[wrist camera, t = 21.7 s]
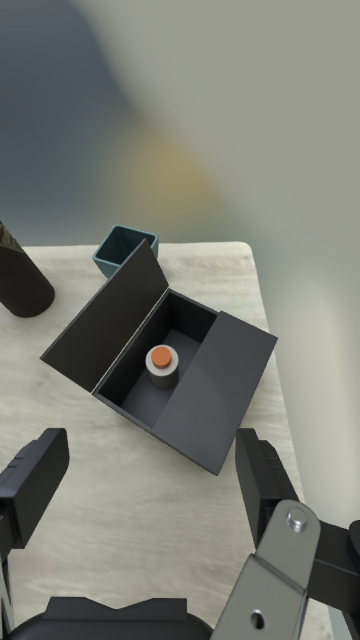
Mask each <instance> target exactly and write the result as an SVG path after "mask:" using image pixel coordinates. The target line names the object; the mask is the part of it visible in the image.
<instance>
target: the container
mask: <svg viewBox="0 0 360 640" xmlns="http://www.w3.org/2000/svg"><path fill="white" fill-rule="evenodd" d="M53 298H54V289H53V287H52V285H51V284H50V283H49V281H48V280H47V279H46V278H45V276H44V275H43V274H42V273H41V271H40V270H39V269H38V268H37V266H36V265H35V264H34V263H33V261H32V260H31V259H30V258H29V256H28V255H27V254H26V253H25V251H24V250H23V249H22V248H21V246H20V245H19V244H18V243H17V242H16V240H15V239H14V238H13V237H12V235H11V234H10V233H9V231H8V230H7V229H6V228H5V227H4V225H3V224H2V223H1V221H0V302H1V303H2V304H3V305H4V306H5V307H6V308H7V309H8V310H9V311H11V312H12V313H13V314H14V315H16V316H19V317H32V316H35V315H38V314H40V313H41V312H43V311H44V310H45V309H47V308H48V307H49V305H50V304H51V303H52V301H53Z"/></svg>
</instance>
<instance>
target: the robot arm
mask: <svg viewBox="0 0 360 640" xmlns="http://www.w3.org/2000/svg"><path fill="white" fill-rule="evenodd" d="M69 459H70V456H69V448H68V440H67V433H66V430H65V428H47V429H46V430H45V431H44V432H43V434H42V435H41V436H40V437H39V439H38V440H33V441H31V442H30V443H29V444H27V445H26V446H25V447H23V448H22V449H21V450H20V451H19V453H18V454H17V455H16V456H15V457H14V460H12V461H11V462H10V463H9V465H8V466H7V468H5V469H4V471H3V472H2V473H1V474H0V640H300V637H301V632H302V628H303V623H304V619H305V615H306V610H307V606H308V602H309V598H312V599H314V600H317V601H319V602H322V603H324V604H326V605H329V606H331V607H334V608H336V609H339V610H341V611H342V614H343V616H344V619H345V621H346V624H347V626H348V629H349V631H350V634H351V636H352V639H353V640H360V520H357V521H354V522H352V524H350V527H349V530H347V529H344V528H341V527H338V526H335V525H331V524H328V523H325V522H323V521H321V520H319V519H318V518H317V516H316V515H315V513H314V512H313V511H312V510H311V509H310V508H309V507H307V506H306V505H304V504H303V503H301V502H300V501H299V499H298V496H297V494H296V492H295V490H294V488H293V486H292V484H291V482H290V479H289V477H288V475H287V473H286V471H285V469H284V467H283V465H282V462H281V460H280V458H279V456H278V454H277V452H276V450H275V448H274V447H273V446H272V445H271V444H270V443H269V442H268V441H267V440H258V437H257V435H256V432H255V430H254V429H253V428H237V432H236V450H235V463H236V471H237V475H238V479H239V483H240V487H241V491H242V495H243V500H244V504H245V508H246V512H247V516H248V520H249V524H250V528H251V532H252V536H253V541H254V545H255V549H256V552H255V554H254V555H253V554H252V553H251V554H250V555H249V556H248V558H247V560H246V562H245V564H244V566H243V568H242V571H241V573H240V575H239V577H238V579H237V581H236V583H235V586H234V588H233V590H232V592H231V594H230V596H229V599H228V601H227V603H226V605H225V607H224V609H223V612H222V614H221V616H220V618H219V620H218V622H217V624H216V627H215V629H214V630H213V629H212V628H211V627H210V626H209V625H208V624H207V623H205V622H204V621H203V620H201V619H200V618H198V617H196V616H195V615H192V614H190V613H187V599H186V598H152V599H149V600H146V601H142V602H139V603H136V604H133V605H130V606H127V607H124V608H121V609H113V608H110V607H108V606H105V605H103V604H100V603H98V602H95V601H93V600H90V599H88V598H85V597H51V598H50V601H49V603H48V606H47V608H46V611H45V612H43V613H40V614H38V615H36V616H34V617H32V618H30V619H28V620H27V621H25V622H23V623H22V624H20V625H19V626H18V627H15V621H14V613H13V601H12V588H11V576H10V564H9V558H8V554H9V553H10V551H11V549H24V548H25V546H26V545H27V543H28V541H29V539H30V537H31V535H32V534H33V532H34V530H35V528H36V526H37V524H38V523H39V521H40V519H41V517H42V515H43V513H44V511H45V510H46V508H47V506H48V504H49V502H50V500H51V499H52V497H53V495H54V493H55V491H56V489H57V488H58V486H59V484H60V482H61V480H62V478H63V476H64V475H65V473H66V471H67V468H68V465H69Z"/></svg>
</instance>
